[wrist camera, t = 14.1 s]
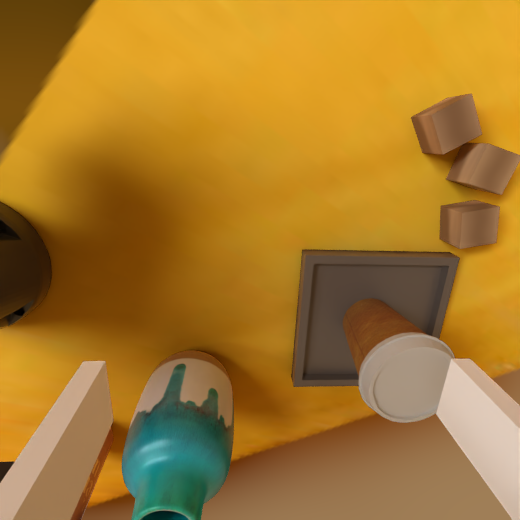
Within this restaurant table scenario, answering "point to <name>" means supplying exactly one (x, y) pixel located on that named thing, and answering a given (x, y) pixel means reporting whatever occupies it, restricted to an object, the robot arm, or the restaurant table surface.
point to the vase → (180, 438)
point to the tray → (358, 288)
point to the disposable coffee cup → (395, 362)
